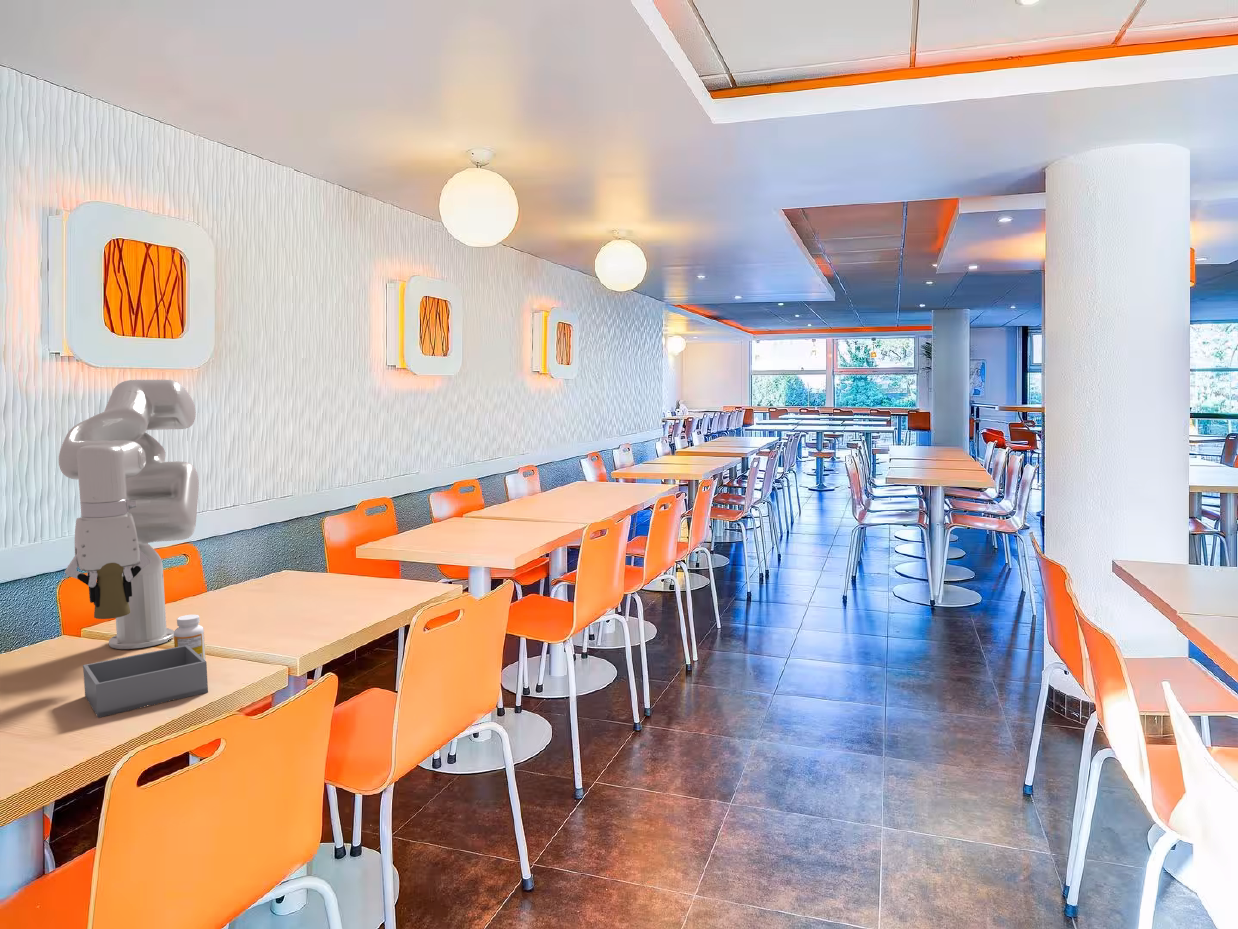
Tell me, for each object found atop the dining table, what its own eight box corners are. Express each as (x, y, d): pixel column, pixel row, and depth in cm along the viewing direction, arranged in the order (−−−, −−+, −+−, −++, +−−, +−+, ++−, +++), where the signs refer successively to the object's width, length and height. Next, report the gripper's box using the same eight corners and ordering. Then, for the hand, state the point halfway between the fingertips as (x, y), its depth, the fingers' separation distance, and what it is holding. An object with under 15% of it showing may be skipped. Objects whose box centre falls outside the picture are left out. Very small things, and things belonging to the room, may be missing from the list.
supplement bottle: (182, 660, 166) (180, 613, 166) (210, 659, 167) (207, 613, 166) (170, 669, 161) (167, 621, 160) (198, 667, 162) (196, 620, 161)
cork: (113, 620, 152) (108, 563, 151) (86, 618, 153) (81, 561, 152) (138, 610, 158) (134, 555, 157) (111, 608, 159) (107, 554, 158)
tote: (85, 696, 147) (82, 665, 146) (189, 673, 158) (187, 645, 157) (98, 717, 137) (95, 684, 136) (208, 692, 148) (206, 661, 148)
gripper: (150, 502, 162) (156, 591, 164) (48, 512, 151) (56, 607, 153) (158, 507, 156) (164, 599, 158) (54, 517, 145) (62, 616, 147)
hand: (111, 602), depth 156 cm, fingers closed on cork, 4 cm apart
